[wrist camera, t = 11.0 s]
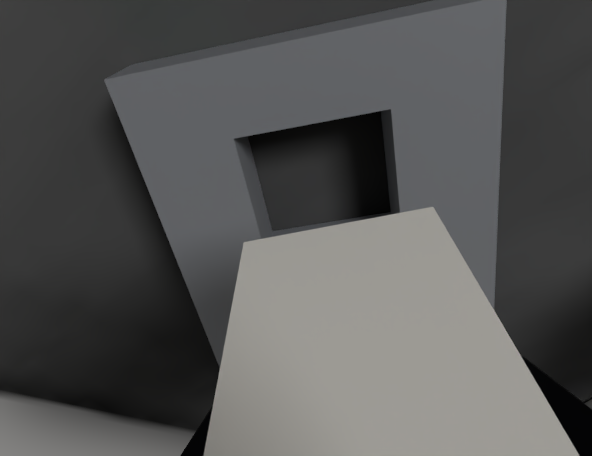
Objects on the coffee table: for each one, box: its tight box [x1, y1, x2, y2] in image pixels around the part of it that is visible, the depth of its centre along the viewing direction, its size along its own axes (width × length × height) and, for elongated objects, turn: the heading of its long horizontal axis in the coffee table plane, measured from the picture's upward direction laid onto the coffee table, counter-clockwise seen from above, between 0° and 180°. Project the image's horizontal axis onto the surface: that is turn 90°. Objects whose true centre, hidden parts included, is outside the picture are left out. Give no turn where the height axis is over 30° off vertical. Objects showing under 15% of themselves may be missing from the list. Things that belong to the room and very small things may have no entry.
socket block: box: [104, 0, 507, 367], centre depth 21 cm, size 14×20×3 cm
